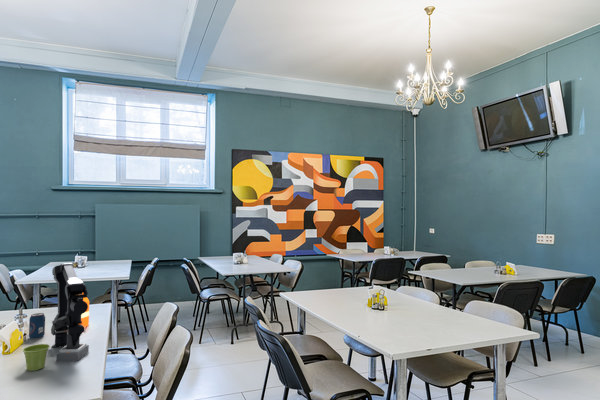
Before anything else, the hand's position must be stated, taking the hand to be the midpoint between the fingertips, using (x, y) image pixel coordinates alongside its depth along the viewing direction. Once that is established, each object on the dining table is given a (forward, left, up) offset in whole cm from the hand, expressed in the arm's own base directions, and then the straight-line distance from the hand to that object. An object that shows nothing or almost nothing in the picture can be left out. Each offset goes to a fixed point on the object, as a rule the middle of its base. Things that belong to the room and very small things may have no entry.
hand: (73, 344), depth 177 cm
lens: (0, 0, -2) cm, 2 cm away
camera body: (0, 0, -6) cm, 6 cm away
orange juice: (-48, -19, -6) cm, 52 cm away
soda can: (-31, -32, -6) cm, 45 cm away
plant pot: (+12, -9, -6) cm, 17 cm away
